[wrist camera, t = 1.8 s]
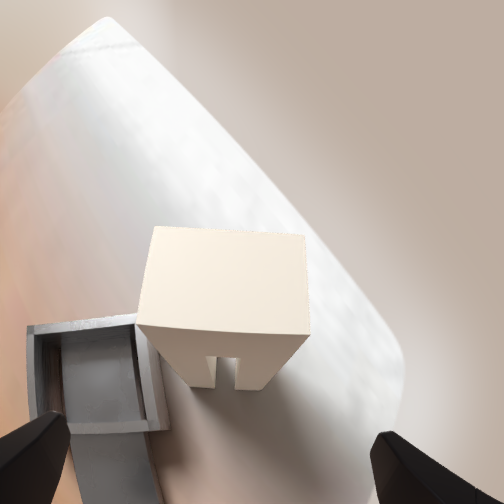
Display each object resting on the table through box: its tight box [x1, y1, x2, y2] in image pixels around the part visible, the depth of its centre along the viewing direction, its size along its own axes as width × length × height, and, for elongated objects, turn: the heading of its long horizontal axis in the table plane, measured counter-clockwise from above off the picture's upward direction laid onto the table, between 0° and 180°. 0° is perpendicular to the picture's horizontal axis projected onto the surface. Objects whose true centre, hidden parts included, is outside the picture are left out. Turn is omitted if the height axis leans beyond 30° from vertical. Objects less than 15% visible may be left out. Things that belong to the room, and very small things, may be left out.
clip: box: [136, 226, 311, 391], centre depth 14 cm, size 3×4×12 cm
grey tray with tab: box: [26, 313, 171, 504], centre depth 14 cm, size 16×8×3 cm, turn 13°
